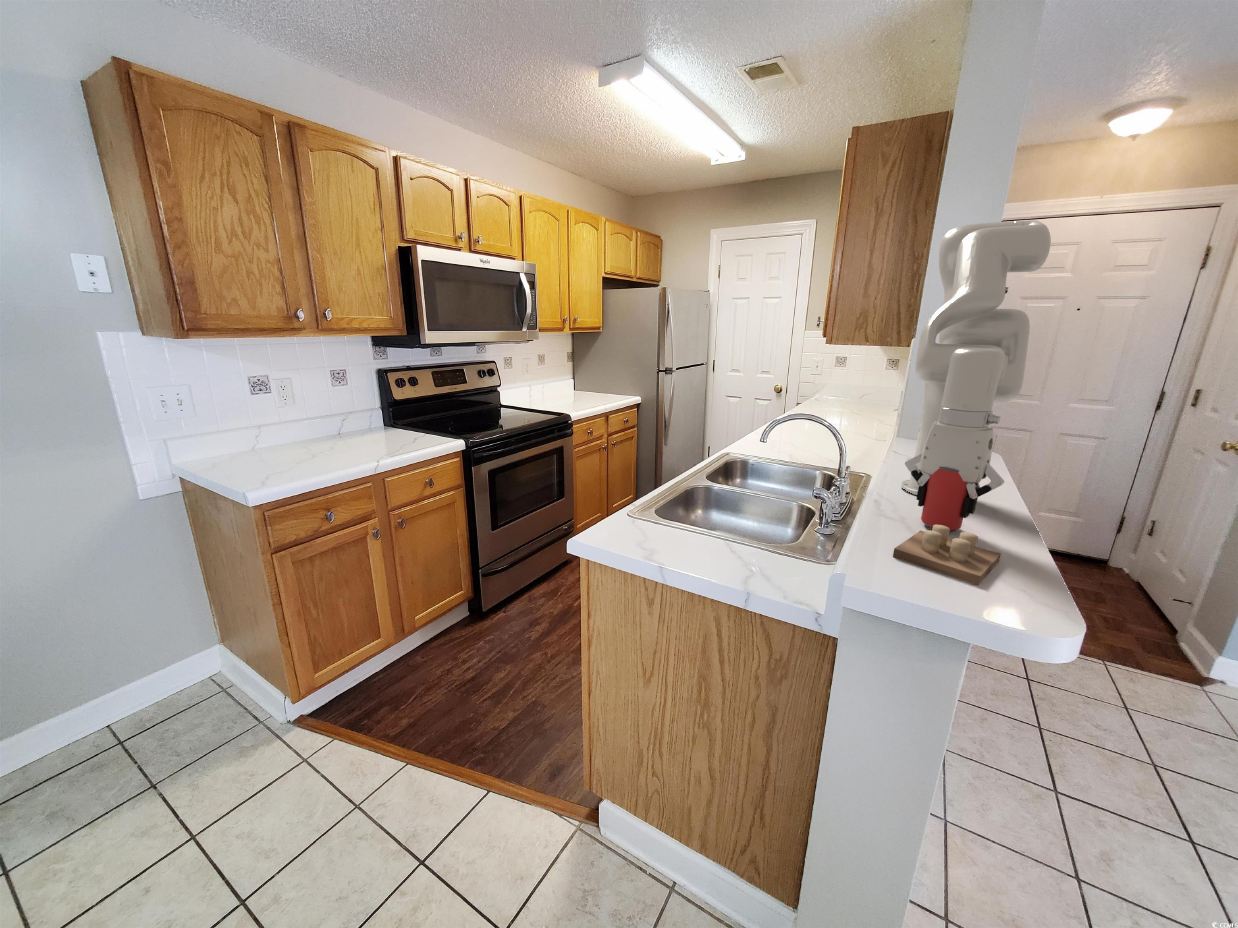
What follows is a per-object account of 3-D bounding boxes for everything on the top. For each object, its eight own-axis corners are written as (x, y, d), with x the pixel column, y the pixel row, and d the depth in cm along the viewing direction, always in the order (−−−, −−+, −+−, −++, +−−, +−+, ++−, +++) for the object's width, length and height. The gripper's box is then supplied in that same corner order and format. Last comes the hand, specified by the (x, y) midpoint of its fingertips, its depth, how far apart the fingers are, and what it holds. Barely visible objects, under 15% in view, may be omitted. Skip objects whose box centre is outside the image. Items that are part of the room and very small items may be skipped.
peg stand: (918, 538, 89) (923, 515, 88) (999, 561, 80) (1005, 536, 79) (892, 556, 81) (897, 531, 80) (978, 585, 72) (984, 557, 71)
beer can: (961, 535, 89) (975, 473, 86) (919, 527, 93) (932, 467, 89) (960, 523, 95) (973, 464, 91) (920, 515, 98) (932, 458, 95)
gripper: (1028, 423, 84) (1004, 519, 89) (918, 408, 96) (902, 493, 101) (1018, 429, 79) (992, 530, 84) (903, 413, 91) (887, 502, 97)
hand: (943, 509), depth 93 cm, fingers closed on beer can, 6 cm apart
